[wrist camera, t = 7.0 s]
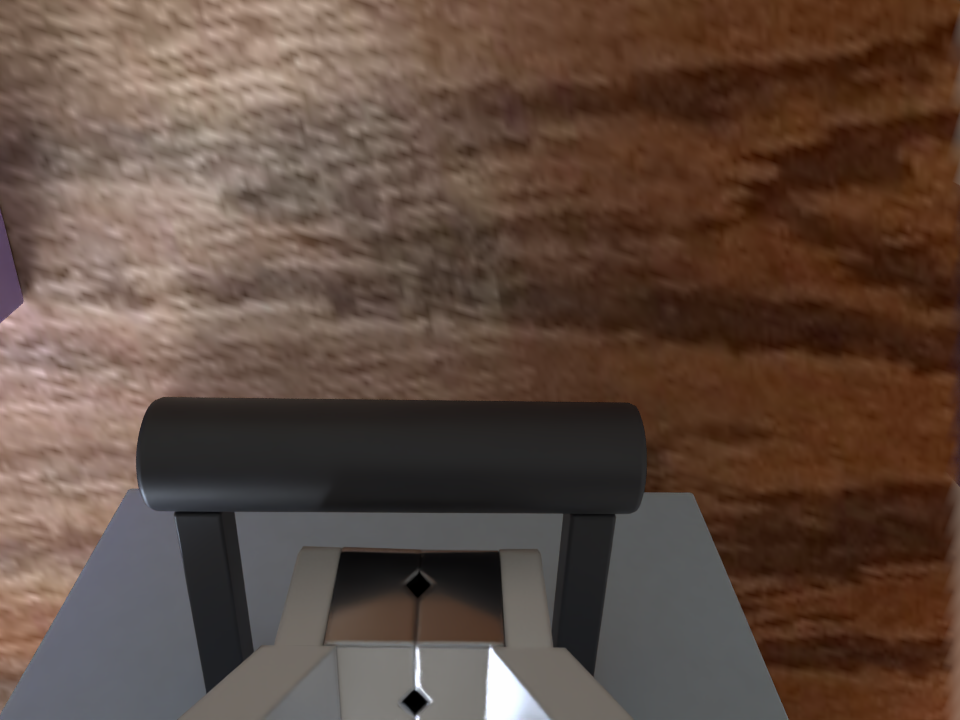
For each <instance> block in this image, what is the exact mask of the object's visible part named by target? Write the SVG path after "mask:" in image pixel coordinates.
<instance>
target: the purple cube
mask: <svg viewBox="0 0 960 720" xmlns="http://www.w3.org/2000/svg"><path fill="white" fill-rule="evenodd" d="M22 303H23V296H22V292H21V288H20V285H19V281H18V277H17V273H16V269H15V265H14V261H13V257H12V253H11V249H10V245H9V241H8V237H7V233H6V229H5V225H4V221H3V217H2V213H1V209H0V323H1V322H2V321H3V320H4V319H5V318H7V317H8V316H9V315H10V314H11V313H12V312H13V311H14V310H16V309H17V308H18V307H19V306H20V305H21V304H22Z"/></svg>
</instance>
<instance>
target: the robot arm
mask: <svg viewBox="0 0 960 720" xmlns="http://www.w3.org/2000/svg"><path fill="white" fill-rule="evenodd" d="M177 720H634V719H633V718H632V717H631V716H630V715H629V714H628V713H627V711H626V710H625V709H624V708H623V707H622V706H621V705H620V704H619V703H618V702H617V701H616V700H615V699H614V698H613V697H612V696H611V695H610V694H609V693H608V692H607V691H606V690H605V689H604V687H603V686H602V685H601V684H600V683H599V682H598V681H597V680H596V679H595V678H594V677H593V676H592V675H591V674H590V673H589V672H588V671H587V670H586V669H585V668H584V667H583V666H582V665H581V663H580V662H579V661H578V660H577V659H576V658H575V657H574V656H573V655H572V654H571V653H570V652H569V651H568V650H567V649H566V648H555V647H553V641H552V633H551V626H550V618H549V611H548V603H547V595H546V588H545V580H544V573H543V565H542V558H541V553H540V552H539V550H538V549H499V551H498V550H421V549H393V548H364V547H343V548H340V547H315V546H303V547H302V549H301V550H300V552H299V553H298V555H297V559H296V563H295V566H294V570H293V574H292V578H291V582H290V586H289V589H288V593H287V597H286V601H285V605H284V608H283V612H282V616H281V620H280V624H279V628H278V631H277V635H276V639H275V643H274V645H261V646H260V647H259V648H258V649H257V650H256V651H255V652H253V653H252V654H251V655H250V656H249V657H248V658H247V659H245V660H244V661H243V662H242V663H241V664H240V665H239V666H237V667H236V668H235V669H234V670H233V671H232V672H231V673H230V674H228V675H227V676H226V677H225V678H224V679H223V680H222V681H220V682H219V683H218V684H217V685H216V686H215V687H214V688H213V689H211V690H210V691H209V692H208V693H207V694H206V695H205V696H203V697H202V698H201V699H200V700H199V701H198V702H197V703H195V704H194V705H193V706H192V707H191V708H190V709H189V710H188V711H186V712H185V713H184V714H183V715H182V716H181V717H180V718H178V719H177Z"/></svg>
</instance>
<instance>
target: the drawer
mask: <svg viewBox="0 0 960 720" xmlns="http://www.w3.org/2000/svg"><path fill="white" fill-rule="evenodd" d="M136 471H137V480H138V486H139V489H129V490H128V491H127V493H126V495H125V497H124V498H123V500H122V502H121V504H120V505H119V507H118V509H117V511H116V512H115V514H114V516H113V518H112V519H111V521H110V523H109V525H108V526H107V528H106V530H105V532H104V533H103V535H102V537H101V539H100V540H99V542H98V544H97V546H96V547H95V549H94V551H93V553H92V554H91V556H90V558H89V560H88V561H87V563H86V565H85V567H84V568H83V570H82V572H81V574H80V575H79V577H78V579H77V581H76V582H75V584H74V586H73V588H72V589H71V591H70V593H69V595H68V596H67V598H66V600H65V602H64V603H63V605H62V607H61V609H60V610H59V612H58V614H57V616H56V617H55V619H54V621H53V623H52V624H51V626H50V628H49V630H48V631H47V633H46V635H45V637H44V639H43V640H42V642H41V644H40V646H39V647H38V649H37V651H36V653H35V654H34V656H33V658H32V660H31V661H30V663H29V665H28V667H27V668H26V670H25V672H24V674H23V675H22V677H21V679H20V681H19V682H18V684H17V686H16V688H15V689H14V691H13V693H12V695H11V696H10V698H9V700H8V702H7V703H6V705H5V707H4V709H3V710H2V712H1V714H0V720H177V719H178V718H180V717H181V716H182V715H183V714H184V713H185V712H186V711H188V710H189V709H190V708H191V707H192V706H193V705H194V704H195V703H197V702H198V701H199V700H200V699H201V698H202V697H203V696H205V695H206V694H207V693H208V692H209V691H210V690H211V689H213V688H214V687H215V686H216V685H217V684H218V683H219V682H220V681H222V680H223V679H224V678H225V677H226V676H227V675H228V674H230V673H231V672H232V671H233V670H234V669H235V668H236V667H237V666H239V665H240V664H241V663H242V662H243V661H244V660H245V659H247V658H248V657H249V656H250V655H251V654H252V653H253V652H255V651H256V650H257V649H258V648H259V647H260V646H261V645H274V643H275V639H276V635H277V631H278V628H279V624H280V620H281V616H282V612H283V608H284V605H285V601H286V597H287V593H288V589H289V586H290V582H291V578H292V574H293V570H294V566H295V563H296V559H297V555H298V553H299V552H300V550H301V549H302V547H303V546H315V547H340V548H343V547H364V548H393V549H421V550H498V551H499V549H538V550H539V552H540V553H541V558H542V565H543V573H544V580H545V588H546V595H547V603H548V611H549V618H550V626H551V633H552V641H553V647H555V648H566V649H567V650H568V651H569V652H570V653H571V654H572V655H573V656H574V657H575V658H576V659H577V660H578V661H579V662H580V663H581V665H582V666H583V667H584V668H585V669H586V670H587V671H588V672H589V673H590V674H591V675H592V676H593V677H594V678H595V679H596V680H597V681H598V682H599V683H600V684H601V685H602V686H603V687H604V689H605V690H606V691H607V692H608V693H609V694H610V695H611V696H612V697H613V698H614V699H615V700H616V701H617V702H618V703H619V704H620V705H621V706H622V707H623V708H624V709H625V710H626V711H627V713H628V714H629V715H630V716H631V717H632V718H633V719H634V720H789V719H788V716H787V714H786V712H785V709H784V707H783V705H782V702H781V700H780V698H779V695H778V693H777V691H776V688H775V686H774V683H773V681H772V679H771V676H770V674H769V672H768V669H767V667H766V665H765V662H764V660H763V658H762V655H761V653H760V650H759V648H758V646H757V643H756V641H755V639H754V636H753V634H752V632H751V629H750V627H749V625H748V622H747V620H746V617H745V615H744V613H743V610H742V608H741V606H740V603H739V601H738V599H737V596H736V594H735V591H734V589H733V587H732V584H731V582H730V580H729V577H728V575H727V573H726V570H725V568H724V566H723V563H722V561H721V558H720V556H719V554H718V551H717V549H716V547H715V544H714V542H713V540H712V537H711V535H710V533H709V530H708V528H707V525H706V523H705V521H704V518H703V516H702V514H701V511H700V509H699V507H698V504H697V502H696V499H695V497H694V495H693V494H692V493H669V492H644V490H645V484H646V474H647V448H646V438H645V431H644V426H643V422H642V419H641V416H640V413H639V411H638V409H637V407H636V406H635V405H632V404H630V403H617V402H532V401H447V400H362V399H277V398H192V397H163V398H160V399H157V400H155V401H153V402H152V403H151V404H150V406H149V407H148V409H147V411H146V413H145V415H144V418H143V421H142V424H141V428H140V432H139V437H138V443H137V452H136Z"/></svg>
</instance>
